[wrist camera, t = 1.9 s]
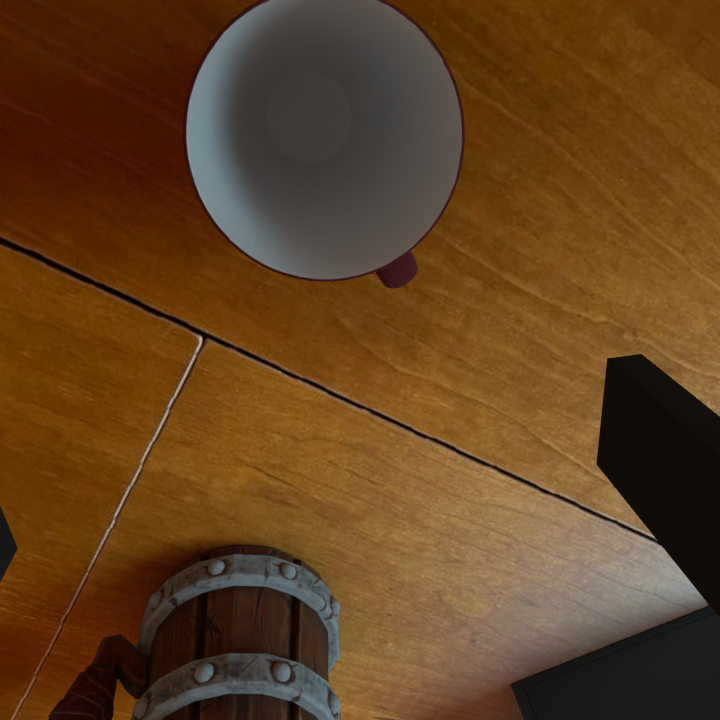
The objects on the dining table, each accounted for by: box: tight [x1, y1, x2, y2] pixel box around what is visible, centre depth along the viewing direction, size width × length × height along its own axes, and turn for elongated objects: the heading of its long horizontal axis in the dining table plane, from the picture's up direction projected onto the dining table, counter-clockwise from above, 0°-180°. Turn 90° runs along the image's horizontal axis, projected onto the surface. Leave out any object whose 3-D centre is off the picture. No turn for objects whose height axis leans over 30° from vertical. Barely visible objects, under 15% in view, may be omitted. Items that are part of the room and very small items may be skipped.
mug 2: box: [48, 545, 341, 720], centre depth 32 cm, size 12×14×15 cm
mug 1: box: [183, 0, 465, 288], centre depth 23 cm, size 11×8×10 cm
